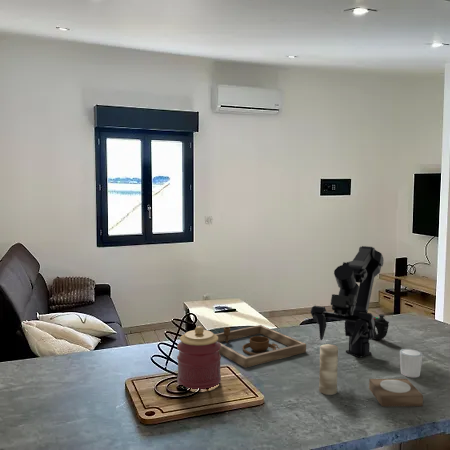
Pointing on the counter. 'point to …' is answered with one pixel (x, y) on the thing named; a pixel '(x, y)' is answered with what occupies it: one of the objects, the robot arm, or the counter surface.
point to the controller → (380, 327)
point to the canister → (199, 359)
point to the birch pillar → (328, 369)
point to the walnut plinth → (395, 392)
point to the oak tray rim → (293, 349)
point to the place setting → (254, 343)
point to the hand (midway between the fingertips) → (335, 342)
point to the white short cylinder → (410, 362)
